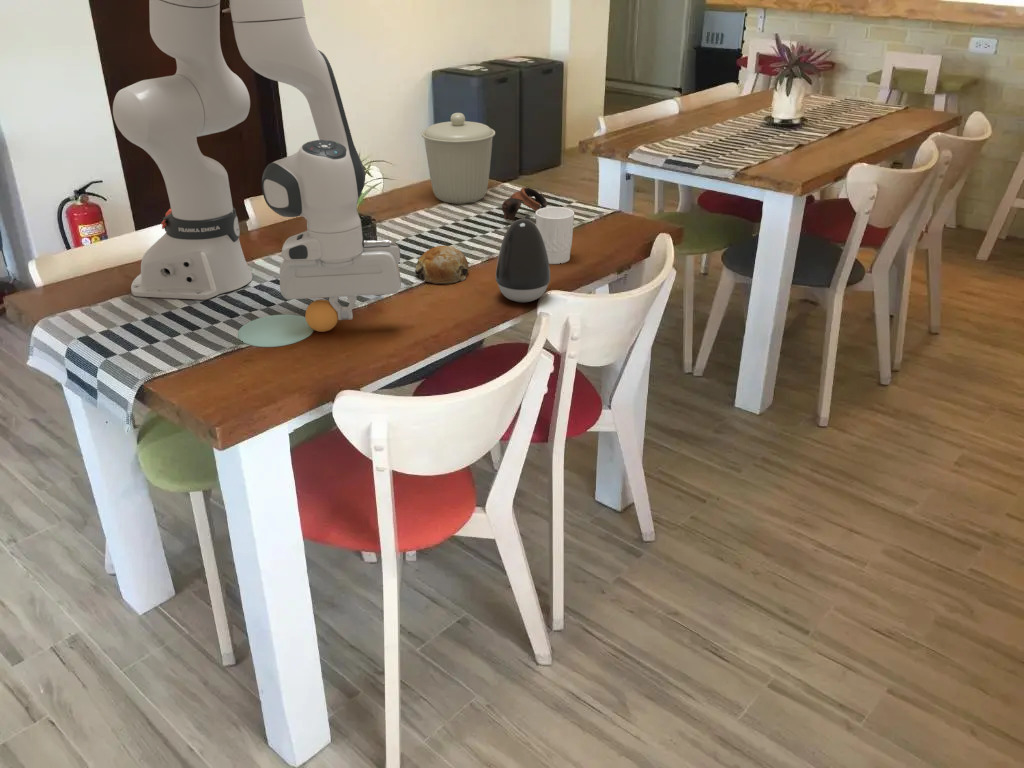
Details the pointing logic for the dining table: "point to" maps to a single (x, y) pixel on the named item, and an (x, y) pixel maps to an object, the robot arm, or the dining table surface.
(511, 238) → the dark grey egg shape
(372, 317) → the dining table surface
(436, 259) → the bread roll
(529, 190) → the brown curved piece
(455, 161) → the canister
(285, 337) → the teal disc
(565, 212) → the white cup
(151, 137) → the robot arm
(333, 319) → the ball
